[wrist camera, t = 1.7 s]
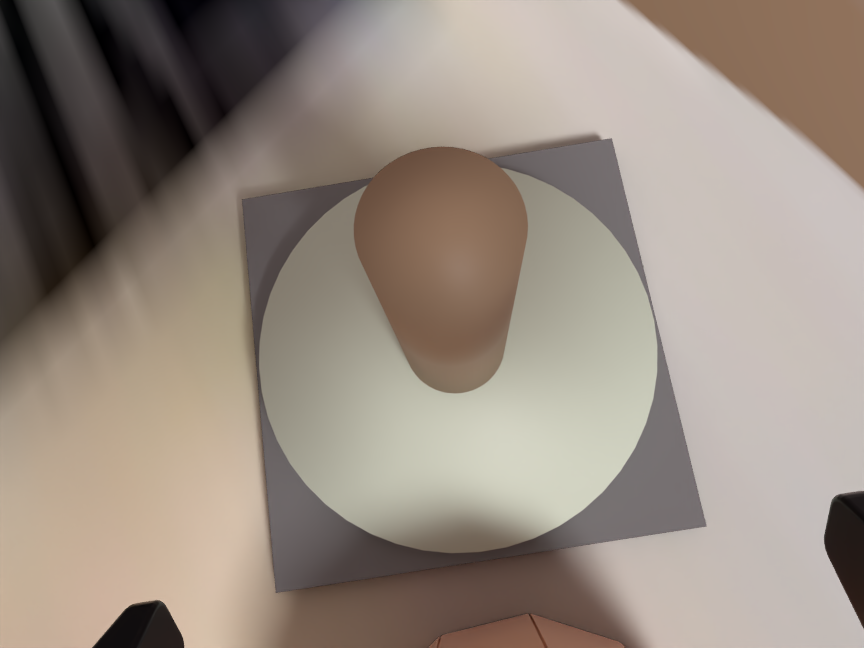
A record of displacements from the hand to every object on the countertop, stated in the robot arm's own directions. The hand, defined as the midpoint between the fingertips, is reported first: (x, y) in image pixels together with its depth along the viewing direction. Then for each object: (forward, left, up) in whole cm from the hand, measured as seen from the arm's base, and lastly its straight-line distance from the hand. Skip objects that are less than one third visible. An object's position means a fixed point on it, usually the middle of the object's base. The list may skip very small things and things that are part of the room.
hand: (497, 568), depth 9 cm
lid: (+3, +5, -11) cm, 12 cm away
